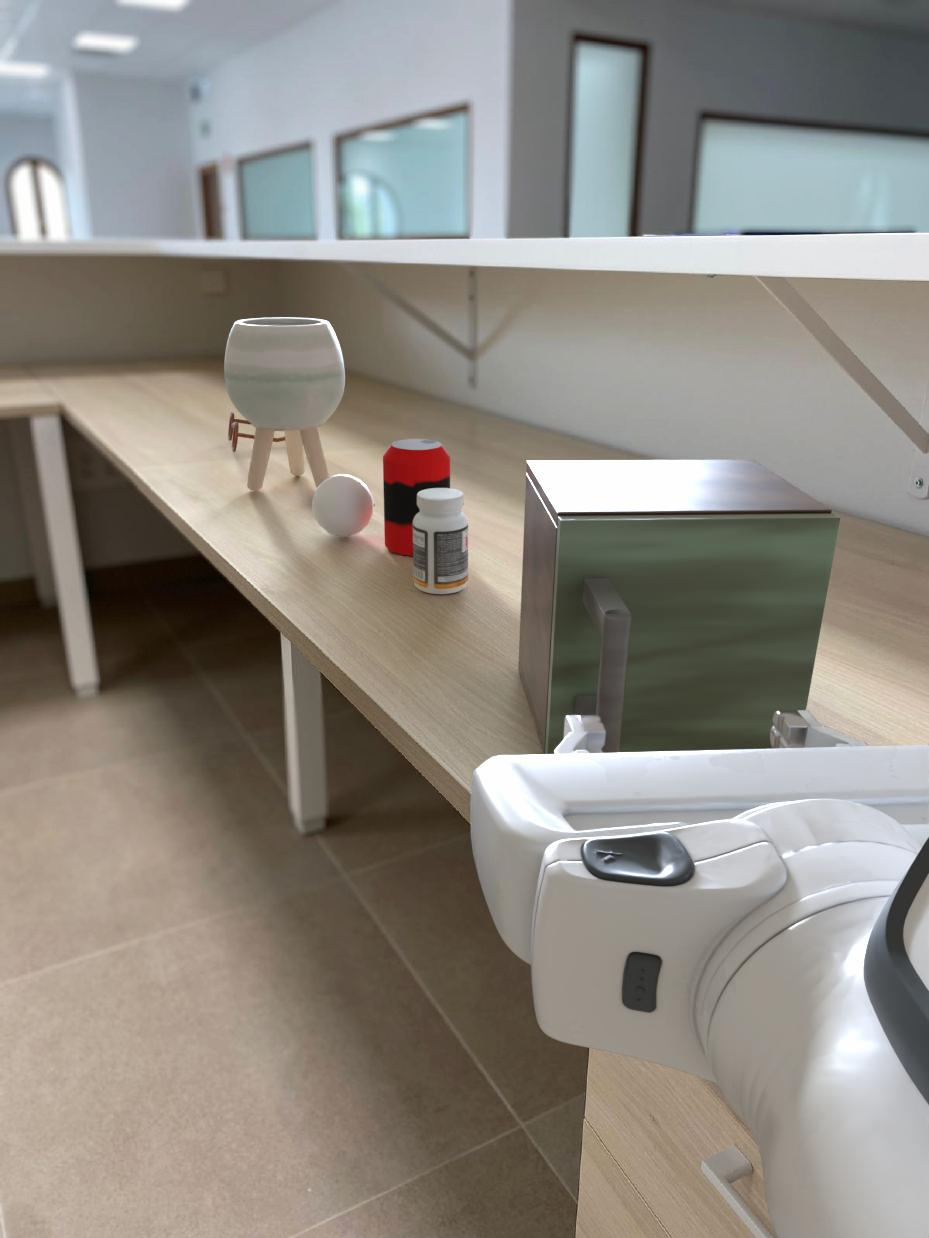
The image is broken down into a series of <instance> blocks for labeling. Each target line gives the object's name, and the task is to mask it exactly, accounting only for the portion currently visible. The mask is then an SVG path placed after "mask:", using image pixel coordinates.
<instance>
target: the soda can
mask: <svg viewBox="0 0 929 1238" xmlns="http://www.w3.org/2000/svg"><path fill="white" fill-rule="evenodd" d="M382 476H383V483H382V484H383V523H384V524H383V525H384V526H383V527H384V528H383V529H384V530H383V531H384V533H383V534H384V546H385V548H387V550H389V552H392V553H393V554H397V555H400V556H406V557H413V519H414V517H415V515H416V514H417V513H419V512H420V509H419V508H418V506H417V493H418V492H419V491H422V490H425V489H430V488H450V489H451V455H450V453H449V452H448V451H447V450H446V448H445V447H444V446H443V444H442V442H441V441H437V440H435V439H427V438H407V439H399V440H395V441H393V442H391V444H390V446H389V447H388V449H387V450H386V451H385V452H384V454H383V456H382Z"/></svg>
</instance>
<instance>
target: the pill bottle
mask: <svg viewBox="0 0 929 1238" xmlns="http://www.w3.org/2000/svg"><path fill="white" fill-rule="evenodd" d="M464 505H465V496H464V493H463V492H462V491H461V490H459V489H455V488H451V487H450V488H430V489H425V490H422V491H419V492H418V493H417V506H418V508H419V509H420V512H419V513H417V514H416V515H415V517H414V519H413V556H412V562H413V563H412V569H413V570H412V575H413V576H412V578H413V584H414V586H415V587H416V589H417V590H419V591H421V592H424V593H427V594H432V595H450V594H454V593H455V594H456V593H459V592H461V591H463V590H464V589H465V588H466V587H467V586H468V584H469V520H468V517H467V516H466V514H464V512H462V509H463V507H464Z"/></svg>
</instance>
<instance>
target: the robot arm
mask: <svg viewBox="0 0 929 1238" xmlns="http://www.w3.org/2000/svg"><path fill="white" fill-rule="evenodd" d="M600 721H601V718H600V716H599V715H566V717H565V724H564V738H563V741H562V742H561V743H560V744H559V745H558V746H557V748H556V749H555V750H554V754H543V753H542V754H498V755H493V756H491V757H489V758H487V759H486V760H484V762H482V763H481V764H480V765H478V766H477V768H475V770H474V771H473V773H472V778H471V787H470V841H471V848H472V855H473V859H474V863H475V869H476V872H477V877H478V880H479V883H480V886H481V889H482V893H483V896H484V899H485V902H486V905H487V908H488V911H489V913H490V916H491V919H492V921H493V924H494V927H495V928H496V930H497V932H498V934H499V936H500V938H501V940H502V941H503V942H504V944H505V946H507V947H508V949H509V950H510V951H511V952H512V953H513V954H514V955H515V956H516V957H517V958H518V959H520V960H521V961H523V962H524V963H527V964H528V965H530V978H531V989H532V999H533V1008H534V1013H535V1014H534V1015H535V1018H536V1022H537V1025H538V1026H539V1029H540V1030H541V1031H542V1032H543V1033H544V1034H545V1035H546V1036H548V1037H549V1038H551V1039H553V1040H555V1041H558V1042H561V1043H564V1044H568V1045H573V1046H578V1047H583V1048H587V1049H592V1050H597V1051H603V1052H607V1053H612V1054H616V1055H620V1056H625V1057H630V1058H633V1059H637V1060H641V1061H646V1062H649V1063H653V1064H656V1065H660V1066H664V1067H667V1068H669V1069H670V1068H671V1069H673V1070H677V1071H680V1072H682V1073H686V1074H689V1075H690V1076H694V1077H697V1078H700V1079H702V1080H705V1081H708V1082H711V1083H714V1084H717V1085H718V1088H719V1090H720V1092H721V1094H722V1096H723V1098H724V1099H725V1101H726V1102H727V1104H728V1105H729V1106H730V1108H731V1109H732V1111H733V1112H734V1113H735V1115H736V1116H737V1117H738V1119H739V1120H740V1121H741V1122H742V1123H743V1124H744V1126H745V1127H746V1128H747V1129H748V1131H749V1132H750V1134H751V1135H752V1137H753V1139H754V1141H755V1143H756V1145H757V1149H758V1151H759V1156H760V1159H761V1167H762V1179H763V1191H764V1197H765V1203H766V1207H767V1212H768V1217H769V1219H770V1223H771V1225H772V1228H773V1231H774V1233H775V1235H776V1238H929V744H909V745H908V744H905V745H903V744H900V745H869V744H868V743H867V742H866V741H863V740H861V739H858V738H855V737H853V736H851V735H849V734H846V733H843V732H841V731H839V730H836V729H833V728H832V727H828V726H826V725H822V724H821V723H820V722H819V721H818V720H817V719H816V717H815V716H814V715H813V714H812V713H811V712H810V711H809V710H808V709H806V710H798V711H797V710H794V711H776V712H774V713H773V716H772V722H773V723H774V725H773V727H772V728H771V729H770V734H769V738H770V743H771V746H772V747H773V749H737V750H698V751H659V752H619V753H604V752H603V749H602V748H603V746H604V745H605V740H606V729H605V727H604V725H603V723H601V722H600Z"/></svg>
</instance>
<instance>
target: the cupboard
mask: <svg viewBox="0 0 929 1238" xmlns="http://www.w3.org/2000/svg"><path fill="white" fill-rule="evenodd" d="M525 473H526V474H525V493H524V494H525V497H524V519H523V520H524V521H523V542H522V544H523V545H522V567H521V568H522V569H521V589H520V590H521V593H520V617H519V643H518V668H517V670H518V674H519V677H520V680H521V683H522V687H523V690H524V695H525V697H526V701H527V704H528V707H529V711H530V714H531V717H532V721H533V725H534V727H535V728H534V729H535V731H536V735H537V738H538V741H539V745H540V747H541V752H542V754H545V744H546V726H547V708H548V690H549V672H550V654H551V636H552V618H553V600H554V582H555V564H556V546H557V528H558V516H612V515H721V514H829V513H833V510H832V509H831V508H830V507H828V506H826V505H825V504H823V502H820V501H819V500H817V499H816V498H814V497H813V496H811V495H810V494H808V493H806V492H804V491H803V490H802V489H800V488H798V487H797V486H795V484H792V483H791V482H789V481H788V480H786V479H784V478H783V477H782V476H780V475H778V474H777V473H775V472H774V471H772V470H770V469H769V468H767V467H766V466H765V465H763V464H761V463H760V462H758V461H756V460H755V459H599V460H598V459H596V460H595V459H590V460H589V459H588V460H587V459H586V460H583V459H581V460H575V459H573V460H572V459H571V460H562V459H561V460H526V470H525Z"/></svg>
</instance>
